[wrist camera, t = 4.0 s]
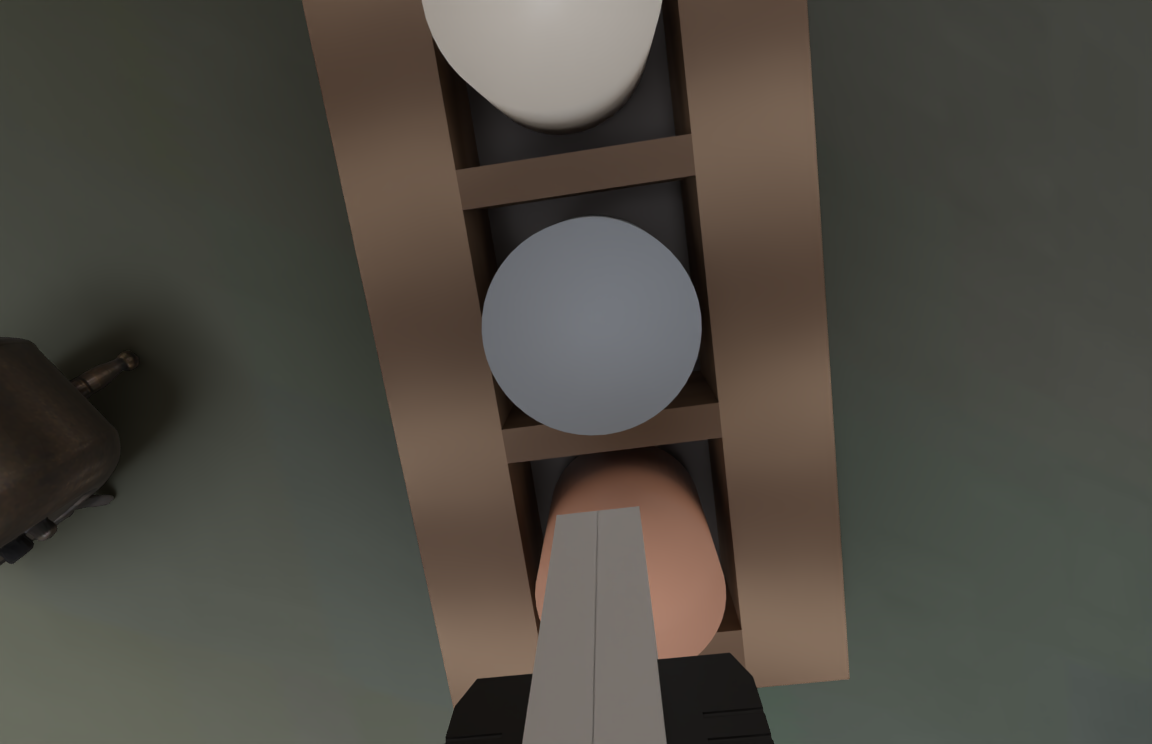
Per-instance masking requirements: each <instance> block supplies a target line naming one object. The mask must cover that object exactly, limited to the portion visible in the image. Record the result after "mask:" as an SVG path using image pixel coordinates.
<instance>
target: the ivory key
mask: <svg viewBox="0 0 1152 744" xmlns="http://www.w3.org/2000/svg"><path fill="white" fill-rule="evenodd" d="M422 4H423V8H424V12H425V17H426V20H427V23H428V25H429V28H430V31H431V34H432V36H433V38H434V40H435V42H436V44H437V46H438V48H439V50H440V51H441V53H442V54H443V55H444V57H445V58H446V60H447V61H448V63H449V64H450V65H451V66H452V68H453V69H454V70H455V71H456V72H457V73H458V74H459V76H460V77H462V78H463V79H464V80H465V81H466V82H467V83H468V84H469V85H471V86H472V87H473V88H474V89H475V90H476V91H477V92H479V93H480V94H481V95H482V96H483V97H484V98H486V99H487V100H488V101H489V102H490V103H491V104H492V105H494V106H495V107H496V108H497V109H498V110H499V111H501V112H502V113H503V114H504V115H505V116H506V117H508V118H509V119H511V120H512V121H514V122H515V123H517V124H519V125H521V126H523V127H525V128H527V129H530V130H533V131H535V132H539V133H544V134H551V135H566V134H574V133H578V132H583V131H586V130H588V129H591V128H594V127H595V126H597V125H599V124H601V123H603V122H605V121H606V120H607V119H609V118H610V117H612V116H613V115H614V114H615V113H616V112H617V111H618V110H619V109H621V108H622V107H623V105H624V104H625V103H626V102H627V101H628V99H629V98H630V97H631V95H632V94H633V92H634V90H635V89H636V87H637V85H638V83H639V81H640V79H641V77H642V74H643V71H644V68H645V65H646V62H647V58H648V55H649V51H650V47H651V44H652V40H653V36H654V33H655V29H656V25H657V22H658V18H659V14H660V10H661V5H662V0H422Z"/></svg>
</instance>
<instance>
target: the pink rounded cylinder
mask: <svg viewBox="0 0 1152 744" xmlns="http://www.w3.org/2000/svg"><path fill="white" fill-rule="evenodd" d="M636 506H639V508H640V516H641V524H642V532H643V540H644V548H645V556H646V564H647V572H648V580H649V588H650V596H651V604H652V612H653V620H654V628H655V636H656V644H657V652H658V659H666V658H677V657H687V656H697V655H699V654H700V653H701V652H702V651H703V650H704V649H705V648H706V646H707V645H708V644H709V643H710V641H711V640H712V639H713V637H714V635H715V634H716V632H717V630H718V628H719V626H720V623H721V621H722V618H723V614H724V610H725V604H726V585H725V579H724V575H723V571H722V568H721V565H720V562H719V559H718V555H717V552H716V549H715V546H714V543H713V540H712V536H711V533H710V530H709V527H708V524H707V520H706V517H705V514H704V511H703V508H702V504H701V501H700V498H699V495H698V492H697V489H696V486H695V484H694V482H693V480H692V478H691V476H690V475H689V473H688V472H687V470H686V469H685V468H684V467H683V466H682V464H681V463H680V462H679V461H678V460H676V459H675V458H674V457H673V456H671V455H670V454H668V453H667V452H665V451H664V450H661V449H659V448H657V447H655V446H648V447H640V448H632V449H623V450H615V451H607V452H599V453H590V454H582V455H579V456H578V457H577V458H576V459H574V460H573V461H572V462H571V463H570V464H569V465H568V466H567V467H566V468H565V470H564V471H563V473H562V474H561V476H560V477H559V479H558V481H557V483H556V486H555V489H554V492H553V495H552V501H551V506H550V511H549V517H548V522H547V527H546V532H545V538H544V543H543V548H542V554H541V559H540V564H539V569H538V575H537V580H536V588H535V599H536V607H537V611H538V615H539V619H540V621H541V616H542V609H543V603H544V596H545V589H546V583H547V576H548V569H549V563H550V556H551V550H552V543H553V536H554V530H555V523H556V516H557V515H563V514H572V513H581V512H590V511H599V510H609V509H618V508H627V507H636Z"/></svg>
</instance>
